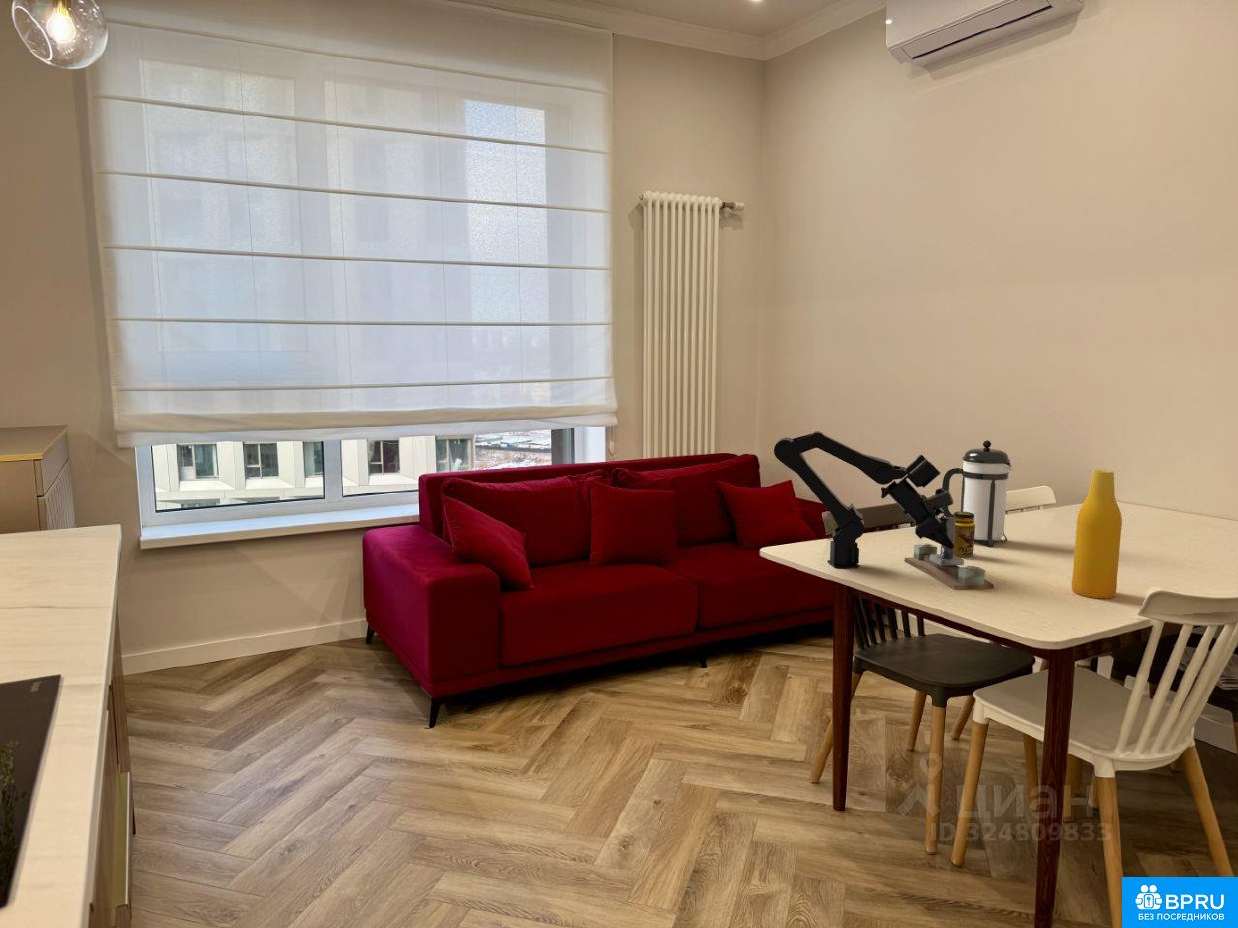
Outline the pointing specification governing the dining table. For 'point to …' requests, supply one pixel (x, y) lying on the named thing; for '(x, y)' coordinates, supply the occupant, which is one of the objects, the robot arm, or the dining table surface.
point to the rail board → (944, 575)
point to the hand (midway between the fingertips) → (953, 546)
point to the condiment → (964, 535)
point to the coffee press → (983, 490)
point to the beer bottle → (1097, 540)
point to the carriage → (946, 553)
